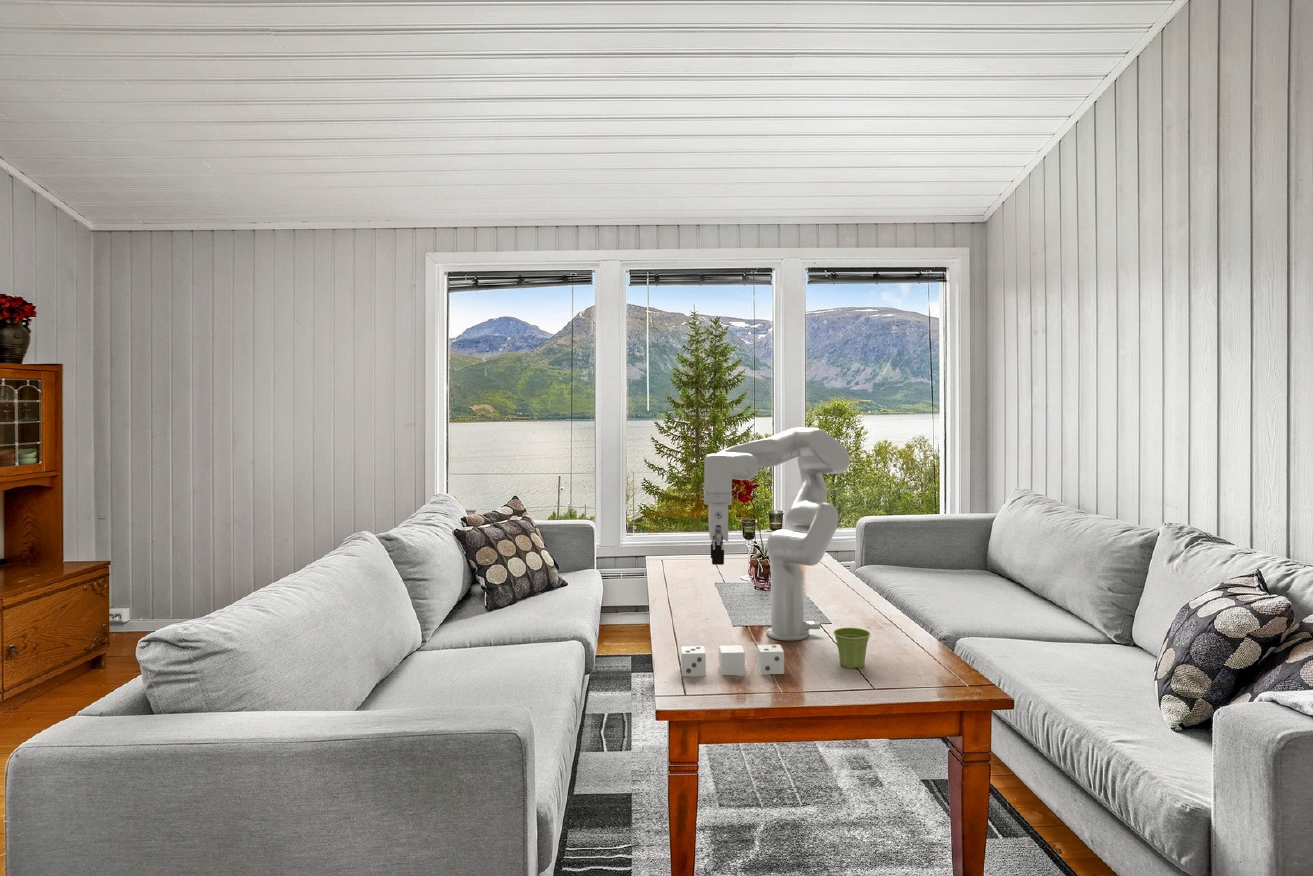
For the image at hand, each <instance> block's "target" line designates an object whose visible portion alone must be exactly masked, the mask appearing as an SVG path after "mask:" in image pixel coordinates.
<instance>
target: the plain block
mask: <svg viewBox="0 0 1313 876" xmlns="http://www.w3.org/2000/svg"><path fill="white" fill-rule="evenodd" d="M745 653H746V652H745V649H744V648H743V645H742V644H739V645H731V644H729V645H719V646H718V654H719V655H718V661H719V662H718V663H719V666H718V668H719V671H721V672H720V674H721V675H737V676H746V660H745V659H746V655H745Z"/></svg>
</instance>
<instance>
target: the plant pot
mask: <svg viewBox="0 0 1313 876" xmlns="http://www.w3.org/2000/svg"><path fill="white" fill-rule="evenodd" d="M833 636H835V640H836V644H837V650H838V657H839V663H840V665H841V666H842V667H843V668H846V669H856V668H859V669H861V668H864V666H865V662H866V653H867V646H868V642H869V638H870V637H871V632H870V631H868V630H867V629H863V628H859V627H858V628H857V627H841V628H837V629H835V630H833Z"/></svg>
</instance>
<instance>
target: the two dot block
mask: <svg viewBox="0 0 1313 876" xmlns="http://www.w3.org/2000/svg"><path fill="white" fill-rule="evenodd" d="M756 656H757V657H756V659H757V660H756V661H757V663H756V664H757V665H756V666H757V667H756V668H757V669H759V670H758V671H759V675H760V674H784V675H785V651H784V650H783V647H782V646H781V644H780V643H779V644H756Z"/></svg>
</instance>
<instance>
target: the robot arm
mask: <svg viewBox="0 0 1313 876" xmlns="http://www.w3.org/2000/svg"><path fill="white" fill-rule="evenodd" d="M795 458H797V464H798V469H799V473H800V485H799V486H800V487H799V488H798V491H797V493H796V495H795V497H794V498H793V500H792V503H791V505H790V507H789V509H788V511H787V513H786V516H785V517H786V518H785V522H786V524H787V526H788V527H789V528H790V529H786V528H783V529H782V528H781V529H777V530H774V531H773V532H771V534H770V535H769V536H768V538H767V543H766V549H767V554H768V559H769V565H770V567H769V568H770V594H771V595H770V600H771V601H770V603H771V605H770V606H771V607H770V609H771V614H770V616H771V617H770V618H771V619H770V620H771V626H770V627H769V628H767V629H766V630H765V633H766V636H767V637H768V638H772V639H774V640H778V641H788V642H789V641H791V642H792V641H802V640H804V639H807V638H808V637H809V636H810V630H820V629H821V623H820V622H814V621H812V620H811V621H806V620H805V618H804V613H805V612H804V605H805V604H804V602H805V601H804V574H803V571H802V568H801V566H800V565H802V566H809V567H813V566H816V565H818V564H819V563H820V562H821V561H822V560H823V557H824V556H825V554H826V552H827V550H828V547H829V546H830V544H831V541H832V539H833V538H834V536H835V533H836V530H837V529H838V524H839V514H838V510H837V508H836V507H835V506H834V505H833V504H832V503H829V502H825V501H826V499H827V496H828V487H827V484H826V481H825V479H824V476H823V474H830V475H840V474H843V473H845V472H846V470H847V469H848V468H849V466H850V463H851V461H850V460H851V459H850V458H851V457H850V455H849V452H848V450H847V449H846V447H844V446H843V444H841V443H840V442H839V441H838V440H837V439H835V438H834V437H833V436H831V434H829V433H828V432H826V431H825V430H823V429H821V428H818V427H792V428H789V429H787V430H784V431H781V432H779V433H775V434H774V435H773V434H772V436H771V435H770V436H769V437H765V438H763V439H757V440H753V441H749V442H746V443H742V444H737V445H733V446H730V447H728V448H727V447H726V448H725V449H722V450H720V451H718V452H716V453H709V454H706V455H705V457H704V477H703V478H704V479H703V480H704V481H703V482H704V485H703V486H704V487H703V490H704V491H703V494H704V495H703V497H704V498H703V504H704V505H708V507H707V508H708V512H707V513H708V533H709V540H710V541H711V543H710V558H711V564H712V565H713V566H714V565H715V566H718V565H719V566H724V564H725V549H724V541H725V542H726V543H727V542H729V506H732V505H733V504H732V503H733V501H732V500H733V499H732V495H733V494H732V493H733V486H732V485H733V484H732V483H733V480H737V481H738V480H740V481H747V480H750V479H753V478H754V477H755V476H756V475H757V474H758V471H759V469H760V468H761V469H762V468H764V469H765V468H771V467H776V466H779V465H781V464H783V463H785V462H788V461H790V460H792V459H795Z"/></svg>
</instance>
